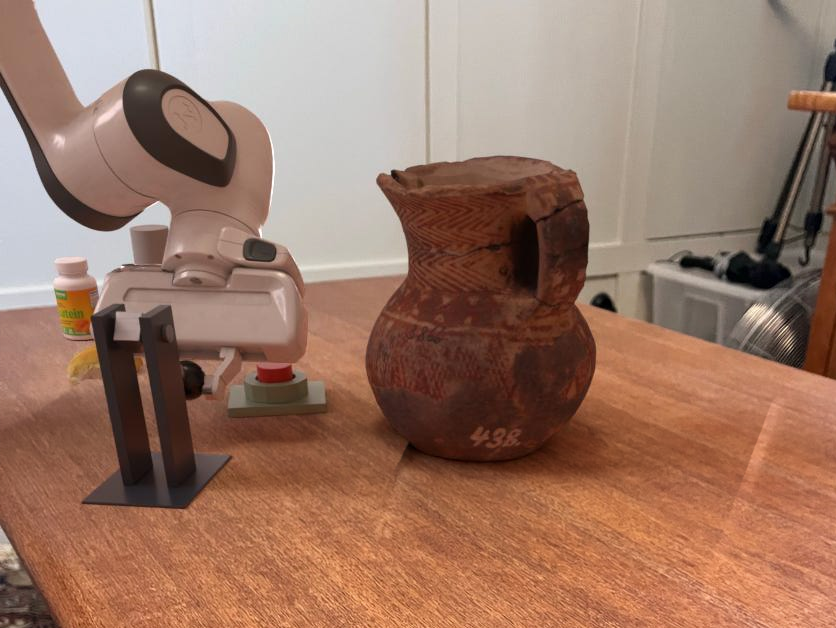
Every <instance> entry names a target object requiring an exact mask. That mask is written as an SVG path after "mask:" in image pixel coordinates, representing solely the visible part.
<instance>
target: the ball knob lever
mask: <svg viewBox="0 0 836 628" xmlns="http://www.w3.org/2000/svg"><path fill="white" fill-rule="evenodd" d="M142 315H144V313H142V312H116V320H115V329H114V339H113V340H114V341H115V342H116V343H118V344H119V345H120V346H121V347H122V348H123V349H125V350H126V351H127V352H128V353H144V347H143V341H142V336H141V330H140V324H139V317H140V316H142ZM180 366H181V372H182V379H183V385H184V392H185V398H186V402H187V401H188V402H189V401H194V400H197V399H199V398H200V397H202V396H203V393H202V387H203V385H204V384H205V383H204V382H203V381H204V376H205V375H207V374H206V372H205V370H204V369H203V368H202V366H200V365H199V364H198V363H196V362H195V361H193V360H188V359H183V360H180Z"/></svg>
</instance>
